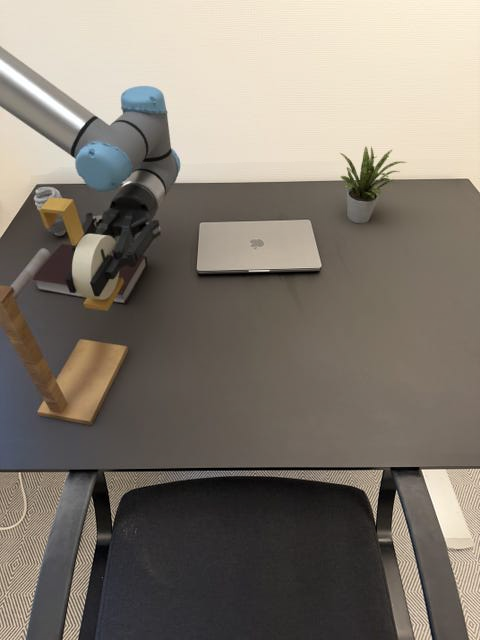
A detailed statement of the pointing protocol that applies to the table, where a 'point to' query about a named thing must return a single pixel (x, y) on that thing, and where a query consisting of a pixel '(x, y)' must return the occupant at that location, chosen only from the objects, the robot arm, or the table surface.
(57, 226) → the light bulb
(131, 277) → the book
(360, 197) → the house plant
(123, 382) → the table surface
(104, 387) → the stand
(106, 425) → the table surface
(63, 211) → the clock
